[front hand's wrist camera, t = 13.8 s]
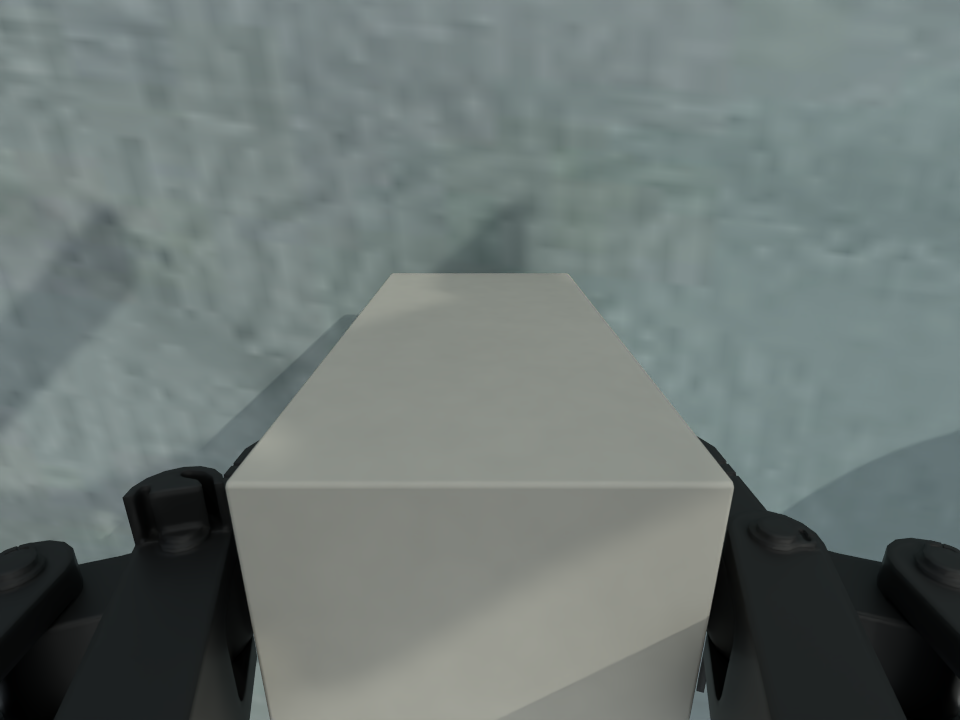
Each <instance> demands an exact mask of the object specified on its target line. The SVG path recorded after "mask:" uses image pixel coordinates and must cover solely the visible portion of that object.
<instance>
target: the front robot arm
mask: <svg viewBox="0 0 960 720" xmlns="http://www.w3.org/2000/svg"><path fill="white" fill-rule="evenodd" d="M698 439H699V440H700V441H701V442H702V444H703V445H704V446H705V447H706V449H707V450H708V451H709V453H710V454H711V455H712V456H713V458H714V459H715V460H716V461H717V463H718V464H719V465H720V466H721V468H722V469H723V470H724V472H725V473H726V474H727V475H728V477H729V478H730V479H731V480H732V482H733V485H734V491H733V496H732V501H731V506H730V511H729V516H728V522H727V527H726V532H725V537H724V542H723V547H722V553H721V558H720V563H719V568H718V573H717V579H716V584H715V589H714V594H713V599H712V604H711V610H710V615H709V620H708V625H707V630H706V631H707V636H706V641H705V647H704V652H703V657H702V662H701V667H700V672H699V677H698V684H697V690H696V691H699V692H703V693H704V689H705V684H707V693H708V701H709V710H710V718H711V720H960V550H958V549H957V548H955V547H952V546H949V545H946V544H941V543H940V542H935V541H931V540H923V539H915V538H905V539H897V540H894V541H893V542H892V543H890V544H889V545H888V546H887V548H886V551H885V554H884V558H883V561H882V562H878V561H873V560H868V559H863V558H858V557H853V556H848V555H844V554H839V553H835V552H831V551H828V550H827V548H826V546H825V544H824V543H823V542H822V540H821V539H820V538H819V536H818V535H817V534H816V533H815V532H814V531H812V530H811V529H809V528H808V527H807V526H805V525H804V524H803V523H801V522H799V521H796V520H794V519H792V518H790V517H787V516H785V515H782V514H778V513H774V512H770V511H767V510H766V509H765V508H764V506H763V505H762V504H761V503H760V502H759V500H758V499H757V498H756V497H755V496H754V494H753V493H752V492H751V491H750V489H749V488H748V487H747V486H746V485H745V483H744V482H743V481H742V480H741V479H740V477H739V476H736V472H735V471H734V470H733V469H732V468H731V466H730V465H729V464H726V460H725V459H724V458H723V457H722V455H721V454H720V453H719V452H718V451H717V449H716V448H715V447H714V446H712V445H710V444H709V443H707V442H706V441H704V440H702V439H701V438H699V437H698ZM258 442H259V441H257V442H256V443H254V444H252V445H251V446H249V447H248V448H246V449H245V450H244V451H243V452H242V454H241V455H240V456H239V457H238V458H237V460H236V461H235V462H234V466H231V467H230V468H229V469H228V471H227V472H226V473H225V474H224V478H223V477H222V474H220V473H219V472H218V471H216V470H215V469H212V468H207V467H202V466H195V467H182V468H177V469H172V470H168V471H164V472H162V473H159V474H156V475H154V476H151V477H149V478H146V479H145V480H143V481H142V482H140V483H138V484H137V485H135V486H133V487H132V488H131V489H130V490H129V491H128V492H127V493H126V494H125V496H124V497H123V501H124V505H125V509H126V512H127V516H128V519H129V523H130V527H131V530H132V534H133V538H134V541H135V547H134V549H133V551H132V553H130V554H126V555H123V556H118V557H113V558H108V559H104V560H99V561H94V562H89V563H84V564H79V565H78V562H77V559H76V556H75V553H74V550H73V548H72V547H71V546H69V545H68V544H67V543H65V542H59V541H51V540H48V541H41V542H34V543H27V544H23V545H20V546H19V547H17V546H16V547H13V548H10V549H7V550H5V551H3V552H2V553H0V720H249V719H250V711H251V702H252V694H253V685H254V677H255V668H256V660H257V654H256V647H255V641H254V636H253V628H252V623H251V618H250V613H249V607H248V602H247V597H246V592H245V587H244V582H243V576H242V571H241V566H240V561H239V556H238V551H237V545H236V540H235V535H234V530H233V525H232V520H231V514H230V509H229V504H228V499H227V494H226V489H225V488H226V483H227V481H228V480H229V478H230V477H231V476H232V475H233V473H234V472H235V471H236V469H237V468H238V467H239V466H240V464H241V463H242V462H243V461H244V459H245V458H246V457H247V456H248V454H249V453H250V452H251V451H252V449H253V448H254V447H255V446H256V444H257V443H258Z"/></svg>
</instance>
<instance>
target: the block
mask: <svg viewBox="0 0 960 720" xmlns="http://www.w3.org/2000/svg"><path fill="white" fill-rule="evenodd" d="M225 489H226V494H227V499H228V504H229V509H230V514H231V520H232V525H233V530H234V535H235V540H236V545H237V551H238V556H239V561H240V566H241V571H242V576H243V582H244V587H245V592H246V597H247V602H248V607H249V613H250V618H251V623H252V628H253V633H254V638H255V644H256V649H257V654H258V659H259V664H260V669H261V675H262V680H263V685H264V690H265V695H266V700H267V706H268V711H269V716H270V720H689V718H690V713H691V708H692V703H693V698H694V692H695V687H696V682H697V677H698V672H699V667H700V661H701V656H702V651H703V646H704V641H705V635H706V630H707V625H708V620H709V615H710V610H711V604H712V599H713V594H714V589H715V584H716V579H717V573H718V568H719V563H720V558H721V553H722V547H723V542H724V537H725V532H726V527H727V522H728V516H729V511H730V506H731V501H732V496H733V491H734V485H733V482H732V480H731V479H730V478H729V477H728V475H727V474H726V473H725V472H724V470H723V469H722V468H721V466H720V465H719V464H718V463H717V461H716V460H715V459H714V458H713V456H712V455H711V454H710V453H709V451H708V450H707V449H706V447H705V446H704V445H703V444H702V442H701V441H700V440H699V439H698V437H697V436H696V435H695V434H694V432H693V431H692V430H691V429H690V427H689V426H688V425H687V423H686V422H685V421H684V420H683V418H682V417H681V416H680V415H679V413H678V412H677V411H676V410H675V408H674V407H673V406H672V404H671V403H670V402H669V401H668V399H667V398H666V397H665V396H664V394H663V393H662V392H661V391H660V389H659V388H658V387H657V385H656V384H655V383H654V382H653V380H652V379H651V378H650V377H649V375H648V374H647V373H646V372H645V370H644V369H643V368H642V367H641V365H640V364H639V363H638V361H637V360H636V359H635V358H634V356H633V355H632V354H631V353H630V351H629V350H628V349H627V348H626V346H625V345H624V344H623V342H622V341H621V340H620V339H619V337H618V336H617V335H616V334H615V332H614V331H613V330H612V329H611V327H610V326H609V325H608V324H607V322H606V321H605V320H604V318H603V317H602V316H601V315H600V313H599V312H598V311H597V310H596V308H595V307H594V306H593V305H592V303H591V302H590V301H589V299H588V298H587V297H586V296H585V294H584V293H583V292H582V291H581V289H580V288H579V287H578V286H577V284H576V283H575V282H574V280H573V279H572V278H571V277H570V275H569V274H567V273H393V274H391V275H390V276H389V278H388V279H387V280H386V281H385V283H384V284H383V285H382V287H381V288H380V289H379V290H378V292H377V293H376V294H375V295H374V297H373V298H372V299H371V300H370V302H369V303H368V304H367V305H366V307H365V308H364V309H363V310H362V312H361V313H360V314H359V316H358V317H357V318H356V319H355V321H354V322H353V323H352V324H351V326H350V327H349V328H348V329H347V331H346V332H345V333H344V334H343V336H342V337H341V338H340V340H339V341H338V342H337V343H336V345H335V346H334V347H333V348H332V350H331V351H330V352H329V353H328V355H327V356H326V357H325V358H324V360H323V361H322V362H321V363H320V365H319V366H318V367H317V369H316V370H315V371H314V372H313V374H312V375H311V376H310V377H309V379H308V380H307V381H306V382H305V384H304V385H303V386H302V387H301V389H300V390H299V391H298V393H297V394H296V395H295V396H294V398H293V399H292V400H291V401H290V403H289V404H288V405H287V406H286V408H285V409H284V410H283V411H282V413H281V414H280V415H279V416H278V418H277V419H276V420H275V422H274V423H273V424H272V425H271V427H270V428H269V429H268V430H267V432H266V433H265V434H264V435H263V437H262V438H261V439H260V440H259V442H258V443H257V444H256V446H255V447H254V448H253V449H252V451H251V452H250V453H249V454H248V456H247V457H246V458H245V459H244V461H243V462H242V463H241V464H240V466H239V467H238V468H237V469H236V471H235V472H234V473H233V475H232V476H231V477H230V478H229V480H228V481H227V483H226V488H225Z"/></svg>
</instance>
